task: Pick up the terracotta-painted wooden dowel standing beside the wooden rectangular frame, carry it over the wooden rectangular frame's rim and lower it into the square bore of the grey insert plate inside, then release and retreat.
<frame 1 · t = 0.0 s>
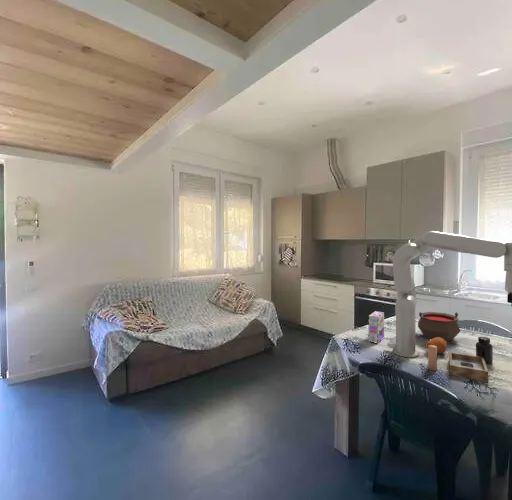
brown cooking pot: (438, 338, 187), on the table
peg: (432, 369, 145), on the table
wooden rectangular frame: (467, 370, 143), on the table
supplement bottle: (484, 361, 152), on the table
potato: (436, 352, 165), on the table
candy box: (376, 340, 186), on the table
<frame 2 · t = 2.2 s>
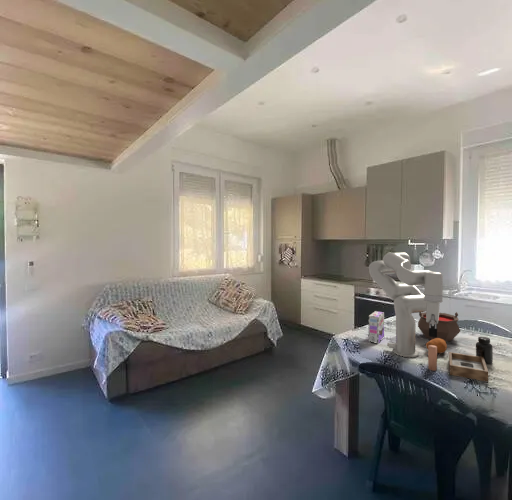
hand: (433, 333, 144), 17 cm above the table, fingers open, 9 cm apart
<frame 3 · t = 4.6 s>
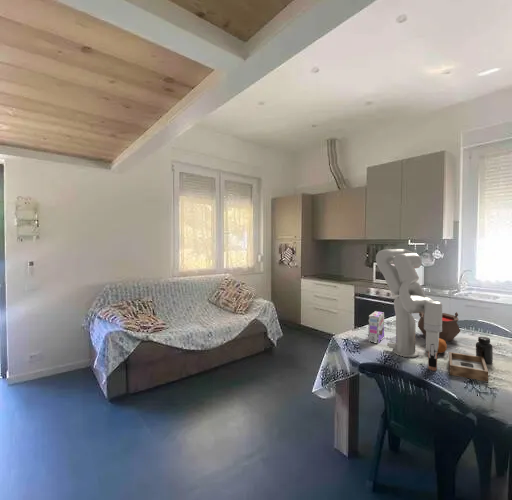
hand: (432, 364, 145), 2 cm above the table, fingers closed on peg, 3 cm apart
peg: (432, 369, 145), on the table, touching gripper
everything else where it was.
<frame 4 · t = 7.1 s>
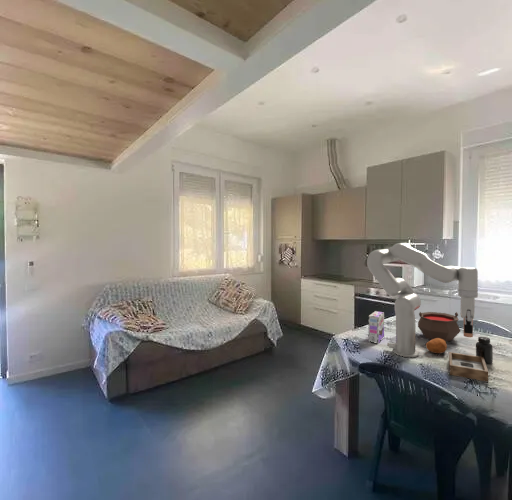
hand: (467, 331, 143), 18 cm above the table, fingers closed on peg, 3 cm apart
peg: (468, 336, 144), point 16 cm above the table, touching gripper
everything else where it was.
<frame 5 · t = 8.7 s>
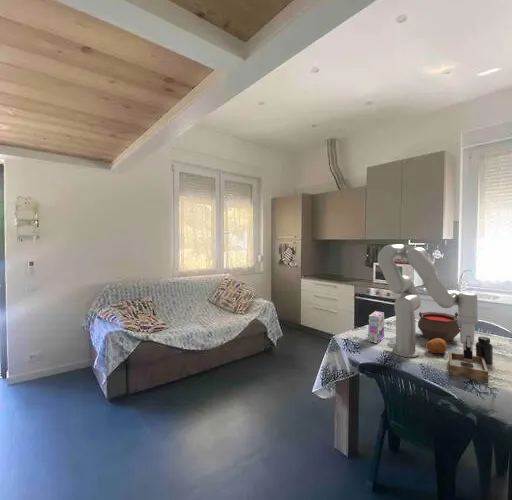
hand: (467, 356, 144), 6 cm above the table, fingers closed on peg, 3 cm apart
peg: (467, 361, 144), point 4 cm above the table, touching gripper
everything else where it was.
when the fingers open (4 cm above the table, at t = 9.8 s): peg drops 1 cm, resting in wooden rectangular frame.
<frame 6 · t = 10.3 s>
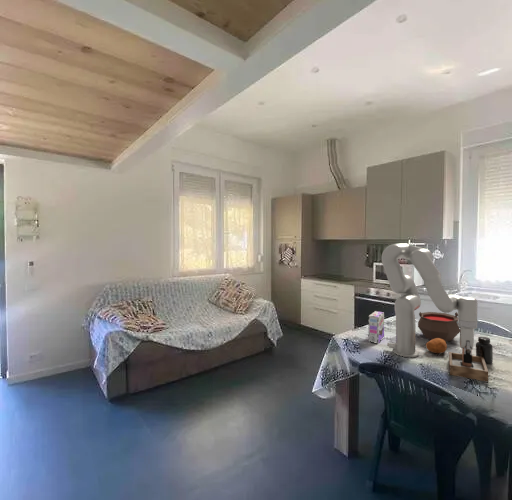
hand: (466, 359, 144), 5 cm above the table, fingers open, 8 cm apart
peg: (466, 368, 145), resting in wooden rectangular frame
everything else where it was.
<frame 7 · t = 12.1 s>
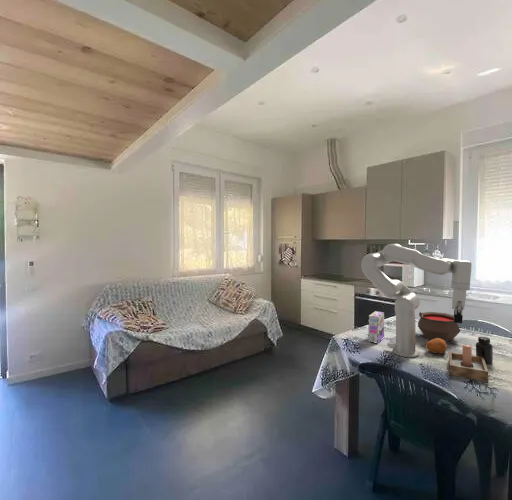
hand: (457, 320, 148), 22 cm above the table, fingers open, 9 cm apart
nothing on the table moved.
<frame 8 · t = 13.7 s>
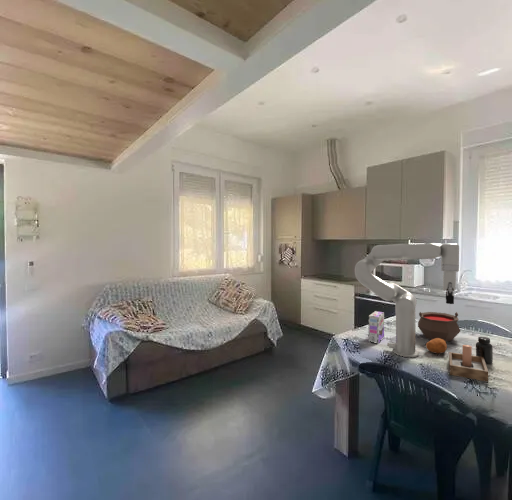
hand: (449, 301, 153), 30 cm above the table, fingers open, 9 cm apart
nothing on the table moved.
at the end: peg 0.0 cm from the target spot on the wooden rectangular frame, point 0.0 cm above the wooden rectangular frame's base; peg tilted 0°; the gripper is holding nothing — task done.
